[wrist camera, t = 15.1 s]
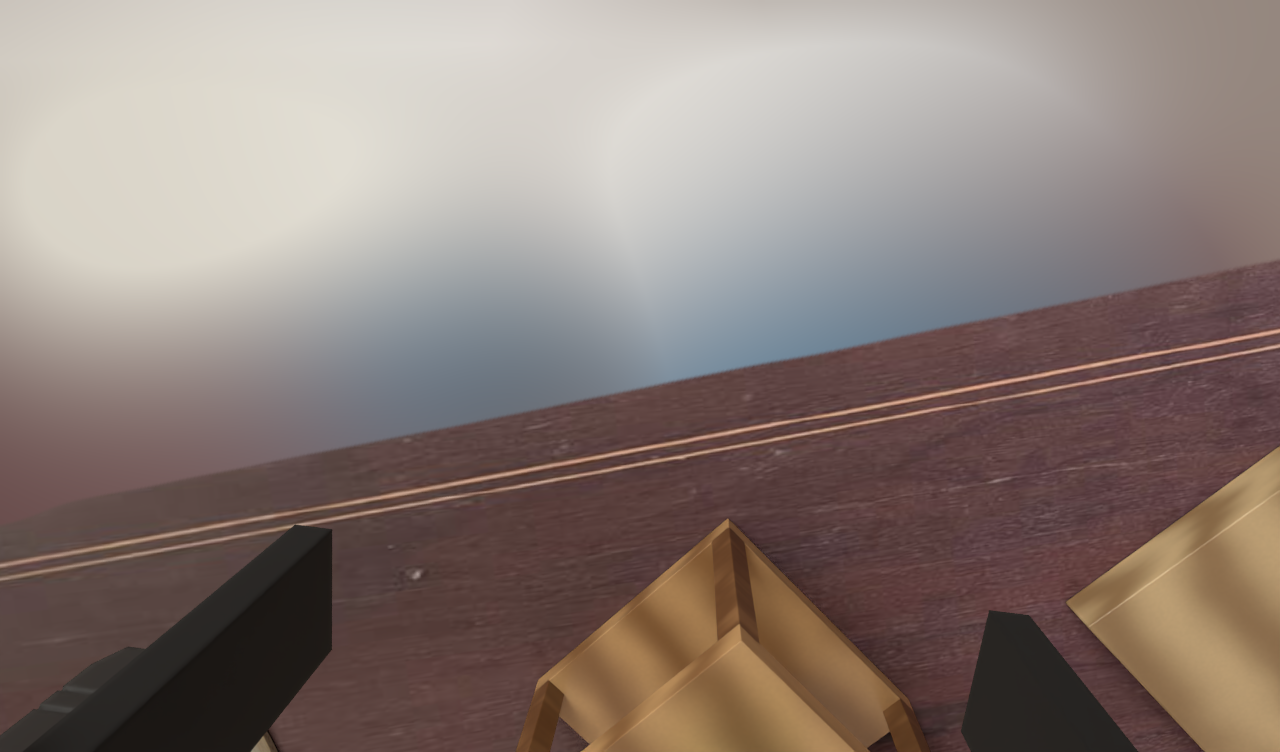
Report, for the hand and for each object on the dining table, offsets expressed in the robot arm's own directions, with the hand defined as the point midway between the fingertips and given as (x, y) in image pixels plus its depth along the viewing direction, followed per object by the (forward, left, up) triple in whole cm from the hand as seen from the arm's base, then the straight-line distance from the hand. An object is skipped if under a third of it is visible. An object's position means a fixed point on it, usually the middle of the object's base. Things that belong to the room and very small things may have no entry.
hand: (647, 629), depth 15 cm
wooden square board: (-14, +38, -33) cm, 52 cm away
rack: (+15, +20, -33) cm, 41 cm away
